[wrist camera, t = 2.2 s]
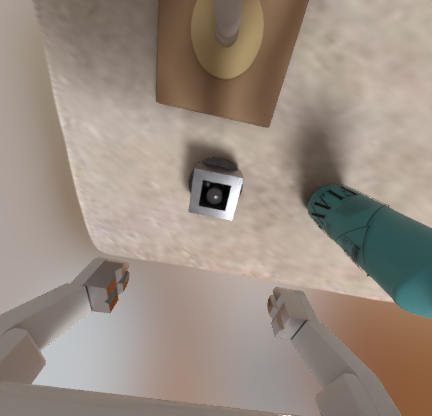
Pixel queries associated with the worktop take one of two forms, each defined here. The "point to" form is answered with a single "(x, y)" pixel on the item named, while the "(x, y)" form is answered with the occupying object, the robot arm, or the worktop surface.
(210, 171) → the square metal tube
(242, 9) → the brown square board
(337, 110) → the worktop surface
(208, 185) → the stand
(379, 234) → the beverage bottle
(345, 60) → the worktop surface
